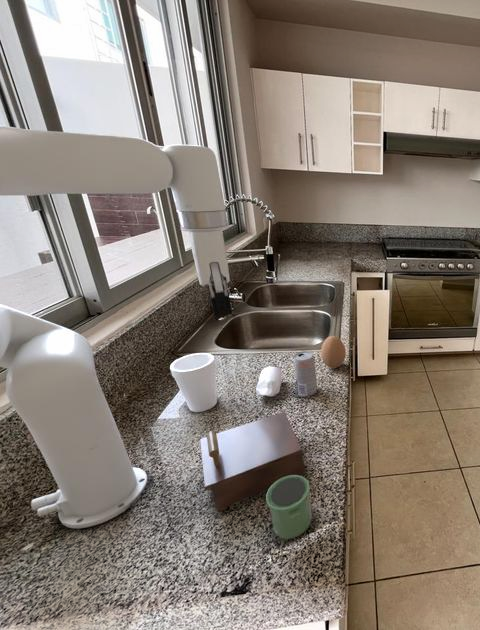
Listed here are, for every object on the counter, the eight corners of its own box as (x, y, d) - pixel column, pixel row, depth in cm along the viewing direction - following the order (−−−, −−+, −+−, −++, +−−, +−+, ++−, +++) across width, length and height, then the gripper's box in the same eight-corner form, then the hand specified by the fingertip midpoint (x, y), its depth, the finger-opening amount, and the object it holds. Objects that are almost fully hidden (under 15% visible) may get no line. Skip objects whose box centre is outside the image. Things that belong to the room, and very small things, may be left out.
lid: (205, 490, 59) (199, 470, 58) (200, 441, 70) (195, 423, 68) (302, 452, 68) (299, 434, 66) (285, 414, 79) (282, 397, 77)
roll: (255, 408, 90) (252, 390, 88) (261, 383, 101) (258, 366, 99) (280, 404, 92) (277, 387, 90) (283, 380, 103) (281, 364, 100)
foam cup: (185, 420, 85) (172, 376, 80) (179, 403, 91) (167, 360, 87) (227, 405, 91) (218, 363, 86) (219, 390, 97) (209, 349, 92)
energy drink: (310, 385, 101) (306, 349, 96) (321, 392, 98) (317, 355, 93) (294, 393, 97) (289, 355, 92) (304, 400, 94) (300, 362, 89)
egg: (350, 362, 113) (348, 333, 109) (340, 374, 107) (338, 343, 102) (329, 359, 115) (326, 330, 111) (317, 371, 108) (314, 340, 104)
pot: (278, 555, 56) (271, 521, 53) (267, 514, 62) (261, 482, 59) (320, 533, 59) (316, 500, 56) (305, 497, 66) (301, 465, 63)
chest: (218, 514, 62) (210, 488, 60) (211, 464, 73) (205, 440, 70) (305, 476, 70) (302, 452, 68) (288, 436, 81) (285, 414, 79)
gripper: (178, 217, 66) (199, 306, 73) (179, 227, 54) (204, 331, 61) (222, 215, 70) (238, 300, 77) (232, 224, 58) (249, 323, 65)
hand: (223, 314), depth 69 cm, fingers closed
